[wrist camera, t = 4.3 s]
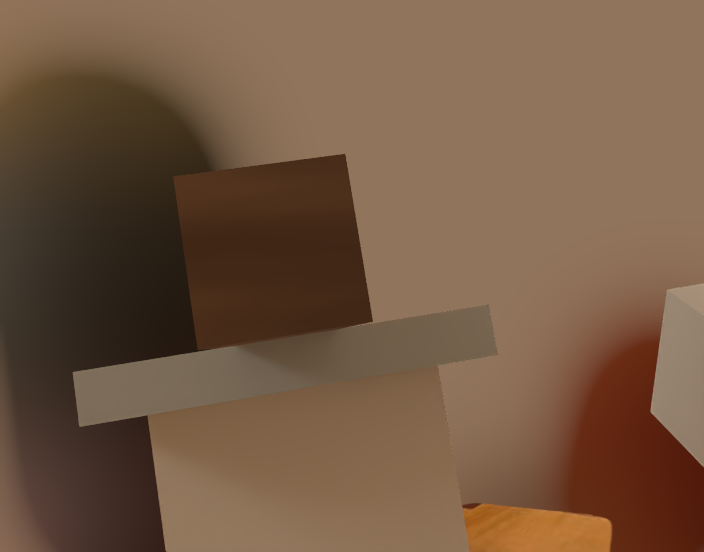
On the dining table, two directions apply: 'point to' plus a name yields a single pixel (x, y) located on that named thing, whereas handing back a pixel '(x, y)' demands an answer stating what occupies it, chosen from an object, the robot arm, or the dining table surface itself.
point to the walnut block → (272, 251)
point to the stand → (303, 437)
